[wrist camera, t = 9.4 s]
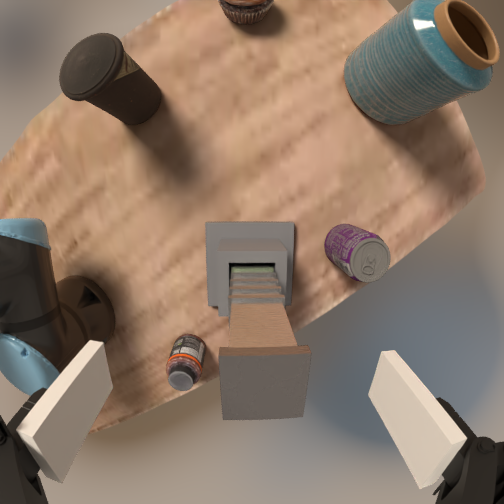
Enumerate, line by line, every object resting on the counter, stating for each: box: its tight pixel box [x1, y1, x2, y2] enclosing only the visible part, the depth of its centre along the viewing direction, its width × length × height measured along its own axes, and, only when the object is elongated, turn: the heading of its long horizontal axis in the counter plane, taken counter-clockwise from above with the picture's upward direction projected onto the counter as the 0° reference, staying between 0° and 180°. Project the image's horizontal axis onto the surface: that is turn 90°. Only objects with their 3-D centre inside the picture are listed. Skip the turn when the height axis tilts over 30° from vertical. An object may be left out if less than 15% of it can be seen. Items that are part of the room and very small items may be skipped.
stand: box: [205, 222, 294, 316], centre depth 43 cm, size 14×14×12 cm
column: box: [219, 265, 311, 420], centre depth 29 cm, size 6×6×23 cm
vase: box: [344, 0, 500, 125], centre depth 30 cm, size 16×16×27 cm
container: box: [59, 33, 161, 125], centre depth 33 cm, size 9×9×20 cm
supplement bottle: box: [166, 334, 205, 391], centre depth 47 cm, size 6×6×11 cm
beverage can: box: [325, 224, 390, 282], centre depth 43 cm, size 7×7×12 cm
